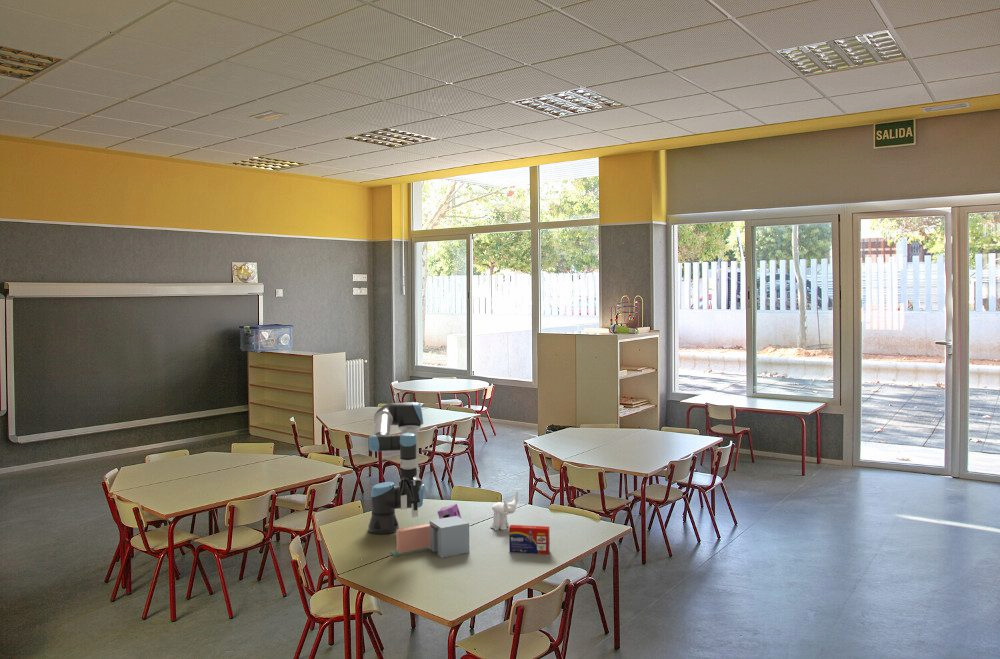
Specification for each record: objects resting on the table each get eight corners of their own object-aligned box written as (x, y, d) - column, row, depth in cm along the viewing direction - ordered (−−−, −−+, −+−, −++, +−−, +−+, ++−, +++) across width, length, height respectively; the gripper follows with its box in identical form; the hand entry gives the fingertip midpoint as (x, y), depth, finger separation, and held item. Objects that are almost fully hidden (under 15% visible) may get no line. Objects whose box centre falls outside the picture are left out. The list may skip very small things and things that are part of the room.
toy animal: (508, 535, 359) (509, 501, 358) (485, 531, 363) (486, 498, 362) (520, 523, 377) (522, 491, 376) (498, 520, 381) (499, 488, 380)
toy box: (549, 551, 334) (549, 526, 334) (548, 554, 330) (548, 529, 330) (510, 549, 338) (510, 524, 337) (509, 552, 334) (509, 527, 333)
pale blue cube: (428, 549, 339) (428, 520, 338) (457, 543, 346) (456, 515, 345) (439, 558, 327) (439, 528, 327) (469, 552, 334) (469, 523, 334)
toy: (461, 538, 351) (451, 508, 352) (446, 542, 353) (436, 512, 354) (466, 531, 362) (457, 502, 363) (452, 536, 363) (442, 507, 364)
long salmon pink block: (396, 551, 336) (396, 529, 335) (428, 544, 343) (428, 523, 343) (399, 553, 332) (399, 531, 332) (431, 546, 340) (431, 525, 340)
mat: (390, 552, 336) (390, 551, 336) (424, 545, 344) (424, 544, 344) (394, 556, 330) (394, 554, 330) (429, 549, 339) (429, 548, 338)
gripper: (391, 462, 344) (392, 507, 346) (410, 474, 323) (411, 521, 324) (406, 460, 348) (407, 504, 349) (426, 472, 326) (427, 518, 327)
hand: (409, 512), depth 337 cm, fingers open, 13 cm apart
